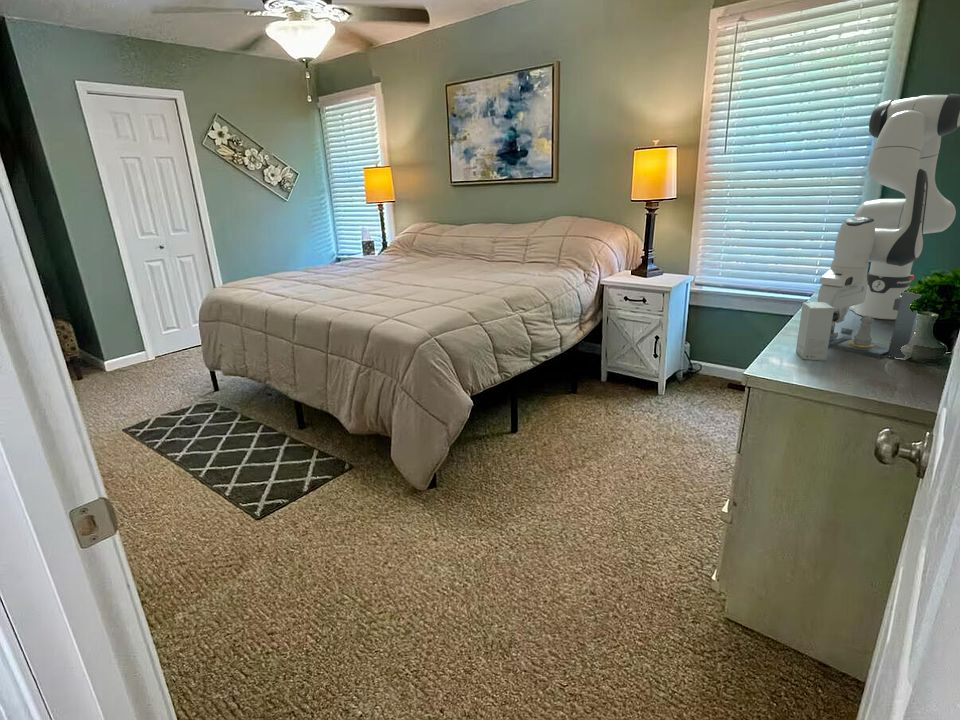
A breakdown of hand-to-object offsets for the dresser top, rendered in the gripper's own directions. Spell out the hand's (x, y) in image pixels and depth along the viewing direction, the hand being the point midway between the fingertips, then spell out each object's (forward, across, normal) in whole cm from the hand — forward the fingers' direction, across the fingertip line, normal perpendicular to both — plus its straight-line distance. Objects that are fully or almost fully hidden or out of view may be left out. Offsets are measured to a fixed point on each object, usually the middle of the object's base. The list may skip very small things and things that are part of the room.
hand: (837, 321), depth 151 cm
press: (+6, 0, +8) cm, 11 cm away
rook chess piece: (+5, 0, +7) cm, 9 cm away
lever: (+5, +3, 0) cm, 5 cm away
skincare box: (+7, +17, +2) cm, 19 cm away
